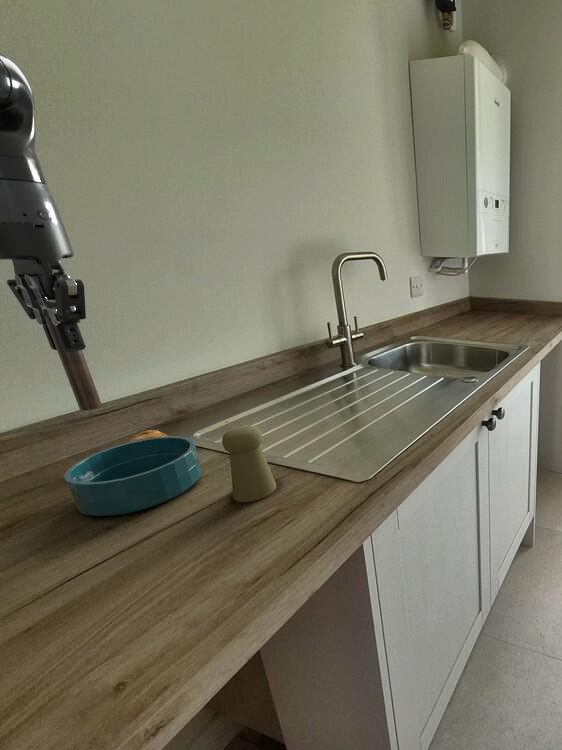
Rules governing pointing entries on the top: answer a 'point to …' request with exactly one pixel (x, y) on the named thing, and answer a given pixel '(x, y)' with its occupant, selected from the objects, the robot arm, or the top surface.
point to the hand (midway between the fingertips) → (69, 349)
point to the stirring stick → (76, 373)
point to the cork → (248, 464)
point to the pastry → (147, 435)
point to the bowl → (133, 476)
